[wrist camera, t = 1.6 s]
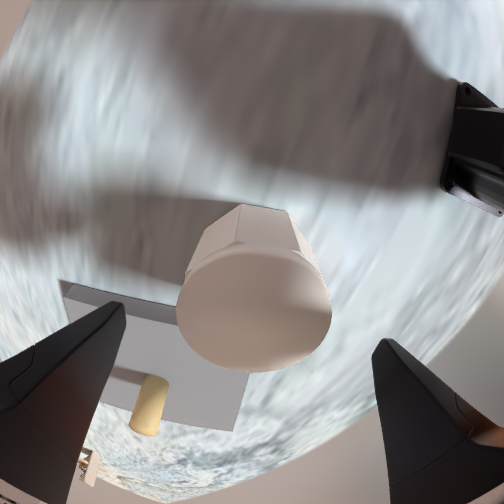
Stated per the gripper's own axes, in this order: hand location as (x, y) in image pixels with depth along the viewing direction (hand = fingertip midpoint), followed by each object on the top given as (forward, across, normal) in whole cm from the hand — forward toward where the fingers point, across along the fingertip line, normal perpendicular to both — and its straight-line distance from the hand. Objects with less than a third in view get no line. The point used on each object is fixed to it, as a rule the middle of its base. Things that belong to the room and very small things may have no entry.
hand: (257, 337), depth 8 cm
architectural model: (+6, +22, +46) cm, 51 cm away
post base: (+6, +5, +10) cm, 13 cm away
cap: (+6, 0, 0) cm, 6 cm away
